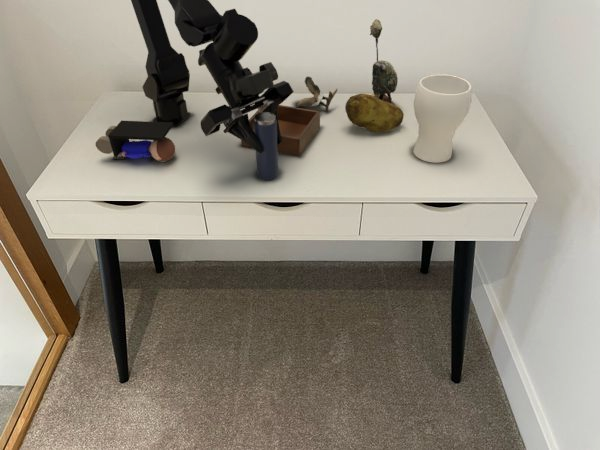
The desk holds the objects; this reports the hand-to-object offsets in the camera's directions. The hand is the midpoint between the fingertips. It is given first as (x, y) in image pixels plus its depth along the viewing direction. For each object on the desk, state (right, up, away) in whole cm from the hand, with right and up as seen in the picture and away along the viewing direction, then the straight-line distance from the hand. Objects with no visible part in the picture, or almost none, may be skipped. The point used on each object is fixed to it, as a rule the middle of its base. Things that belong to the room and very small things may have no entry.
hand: (271, 147), depth 93 cm
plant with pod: (+24, +14, +28) cm, 39 cm away
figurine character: (-27, -1, +10) cm, 29 cm away
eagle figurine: (+9, +14, +28) cm, 32 cm away
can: (-1, -4, +5) cm, 7 cm away
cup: (+33, 0, +11) cm, 35 cm away
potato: (+22, +7, +19) cm, 30 cm away
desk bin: (+1, +5, +17) cm, 17 cm away
